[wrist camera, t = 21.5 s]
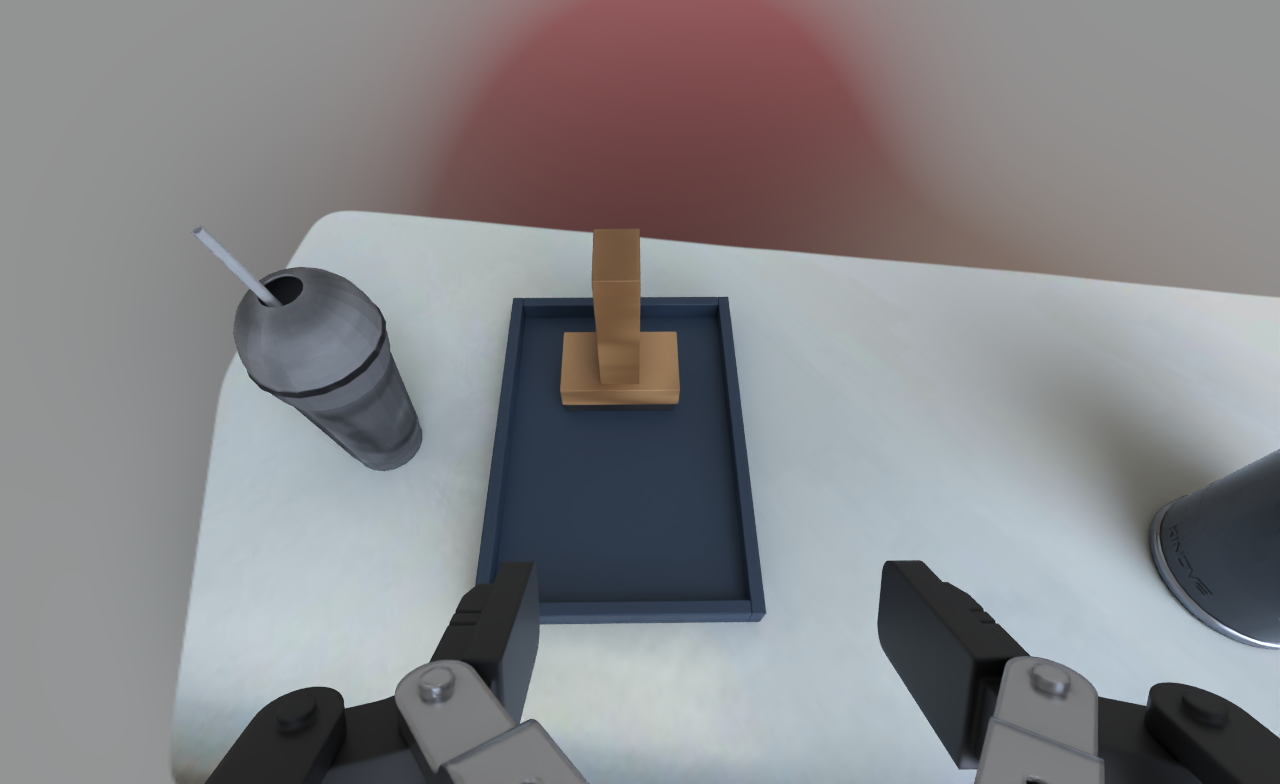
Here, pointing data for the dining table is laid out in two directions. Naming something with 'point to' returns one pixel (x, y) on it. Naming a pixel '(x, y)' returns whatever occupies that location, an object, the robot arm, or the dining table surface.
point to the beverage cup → (324, 358)
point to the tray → (625, 478)
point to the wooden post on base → (618, 340)
